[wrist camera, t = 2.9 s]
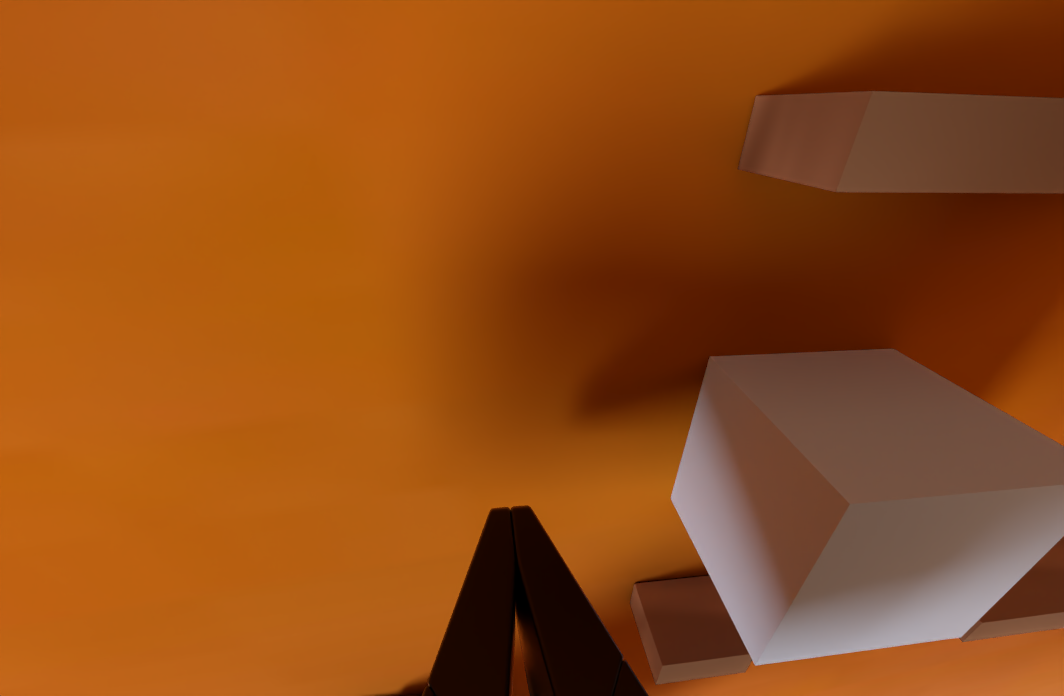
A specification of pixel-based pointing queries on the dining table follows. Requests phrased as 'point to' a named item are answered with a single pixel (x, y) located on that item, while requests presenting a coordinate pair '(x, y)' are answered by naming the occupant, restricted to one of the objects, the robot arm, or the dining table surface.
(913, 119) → the wooden pieces
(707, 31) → the dining table surface
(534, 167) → the dining table surface
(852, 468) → the white cube
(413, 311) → the dining table surface
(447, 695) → the robot arm
